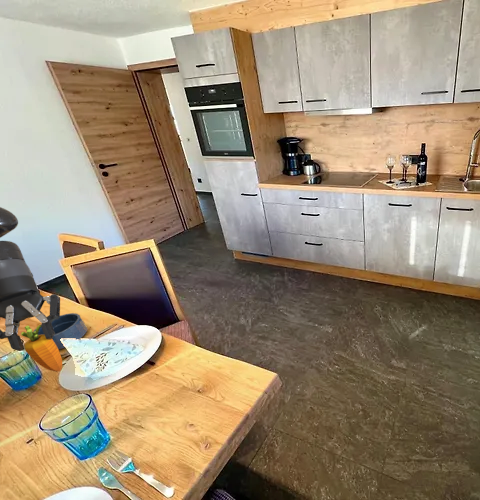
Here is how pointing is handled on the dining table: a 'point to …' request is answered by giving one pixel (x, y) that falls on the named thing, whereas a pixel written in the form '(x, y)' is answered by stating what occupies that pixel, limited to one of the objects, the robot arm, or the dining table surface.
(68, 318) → the bowl
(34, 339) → the carrot
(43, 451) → the dining table surface
